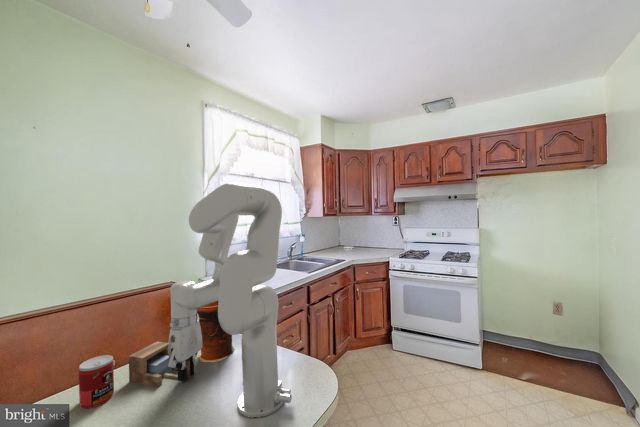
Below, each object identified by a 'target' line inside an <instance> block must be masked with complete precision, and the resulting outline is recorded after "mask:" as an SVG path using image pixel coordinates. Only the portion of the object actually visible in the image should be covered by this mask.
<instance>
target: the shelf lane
mask: <svg viewBox="0 0 640 427" xmlns="http://www.w3.org/2000/svg"><path fill="white" fill-rule="evenodd" d="M168 345H169V342H162V341H155V342H153V343H150V344H149V345H148V346H146V347H144V348H142V349H140V350H137V351H136V352H134V353H132V354H131V355H129V356H128V376H129V377H128V379H129V383H134V384H139V385H144V386H145V385H146V386H149V387H151V386H152V387H156V388H159V387H161V386H162V384H163V380H162V379H163V377H162V375H159V374H152V373H147V360H149V359H150V358H152V357H154V356H156V355H157V354H159V355H167V356H169V355H168ZM180 364H181V362H180ZM172 370H176V371H177V369H176V368H172Z"/></svg>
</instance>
